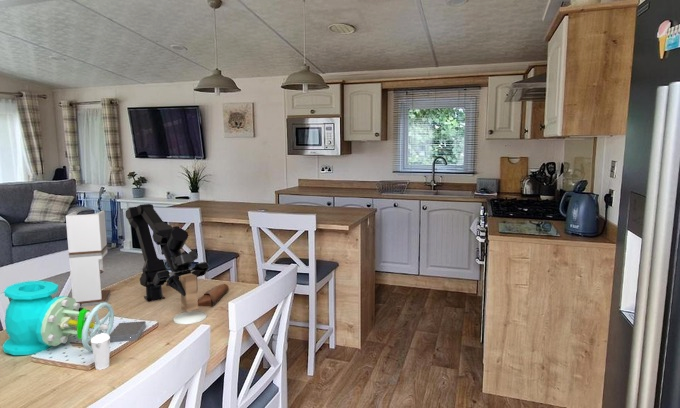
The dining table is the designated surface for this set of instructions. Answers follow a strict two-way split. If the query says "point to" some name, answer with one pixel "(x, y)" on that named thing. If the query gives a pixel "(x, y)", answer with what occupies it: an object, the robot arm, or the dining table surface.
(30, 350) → the valve
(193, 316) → the ceramic coaster
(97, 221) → the tall white block
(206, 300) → the sunglasses case
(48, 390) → the dining table surface
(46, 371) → the dining table surface
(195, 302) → the walnut post
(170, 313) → the dining table surface
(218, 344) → the dining table surface
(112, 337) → the metal stand
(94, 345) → the milkshake
